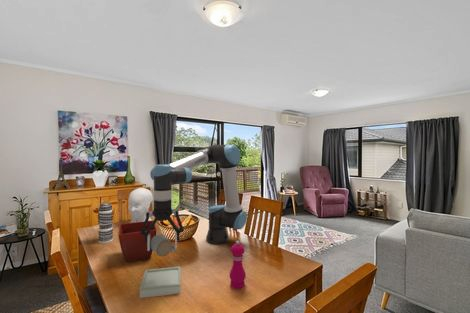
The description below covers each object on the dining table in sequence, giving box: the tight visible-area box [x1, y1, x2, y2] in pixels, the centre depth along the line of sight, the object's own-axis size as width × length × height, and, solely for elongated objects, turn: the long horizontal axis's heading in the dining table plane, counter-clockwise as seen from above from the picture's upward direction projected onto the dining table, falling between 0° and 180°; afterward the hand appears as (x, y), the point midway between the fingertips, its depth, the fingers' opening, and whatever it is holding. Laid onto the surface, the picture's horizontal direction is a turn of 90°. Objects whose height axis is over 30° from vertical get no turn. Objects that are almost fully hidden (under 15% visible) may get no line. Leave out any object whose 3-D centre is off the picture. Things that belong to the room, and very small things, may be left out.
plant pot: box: [117, 220, 157, 263], centre depth 136 cm, size 19×19×17 cm
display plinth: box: [139, 266, 181, 299], centre depth 106 cm, size 16×16×4 cm
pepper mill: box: [229, 240, 246, 290], centre depth 106 cm, size 7×7×20 cm
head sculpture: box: [128, 187, 154, 223], centre depth 194 cm, size 20×23×30 cm
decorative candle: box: [97, 202, 114, 244], centre depth 159 cm, size 9×9×25 cm
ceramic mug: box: [150, 233, 177, 257], centre depth 107 cm, size 11×8×8 cm
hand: (162, 248), depth 106 cm, fingers closed on ceramic mug, 11 cm apart
